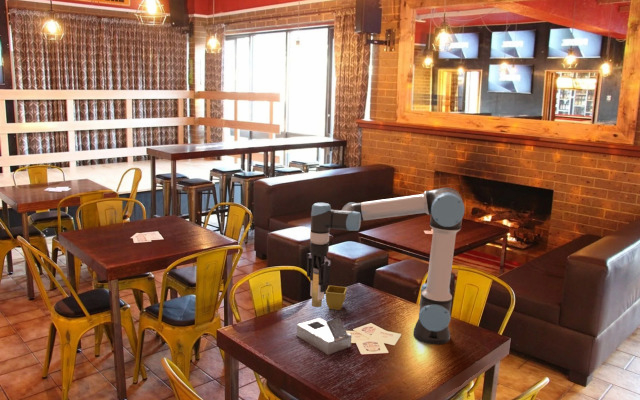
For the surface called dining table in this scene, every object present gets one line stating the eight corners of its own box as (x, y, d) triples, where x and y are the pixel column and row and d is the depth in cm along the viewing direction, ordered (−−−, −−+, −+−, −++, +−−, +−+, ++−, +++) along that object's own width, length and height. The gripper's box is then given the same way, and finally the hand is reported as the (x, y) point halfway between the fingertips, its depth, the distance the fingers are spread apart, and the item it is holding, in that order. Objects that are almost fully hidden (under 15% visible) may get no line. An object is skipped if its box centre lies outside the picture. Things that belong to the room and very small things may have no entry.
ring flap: (325, 322, 222) (327, 321, 222) (338, 318, 227) (340, 317, 226) (334, 343, 219) (336, 341, 218) (348, 338, 223) (349, 337, 223)
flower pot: (343, 312, 259) (344, 293, 258) (324, 310, 261) (325, 291, 259) (346, 305, 268) (347, 287, 266) (328, 303, 270) (328, 285, 268)
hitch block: (296, 335, 234) (297, 324, 233) (319, 328, 242) (319, 317, 241) (328, 354, 219) (328, 342, 218) (350, 346, 227) (351, 334, 226)
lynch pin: (323, 305, 231) (325, 268, 228) (315, 308, 228) (317, 270, 225) (317, 302, 234) (318, 265, 231) (309, 304, 231) (311, 267, 228)
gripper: (340, 245, 222) (337, 301, 226) (313, 235, 234) (311, 288, 239) (326, 248, 217) (323, 306, 222) (299, 237, 230) (296, 292, 235)
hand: (317, 297), depth 230 cm, fingers closed on lynch pin, 4 cm apart
